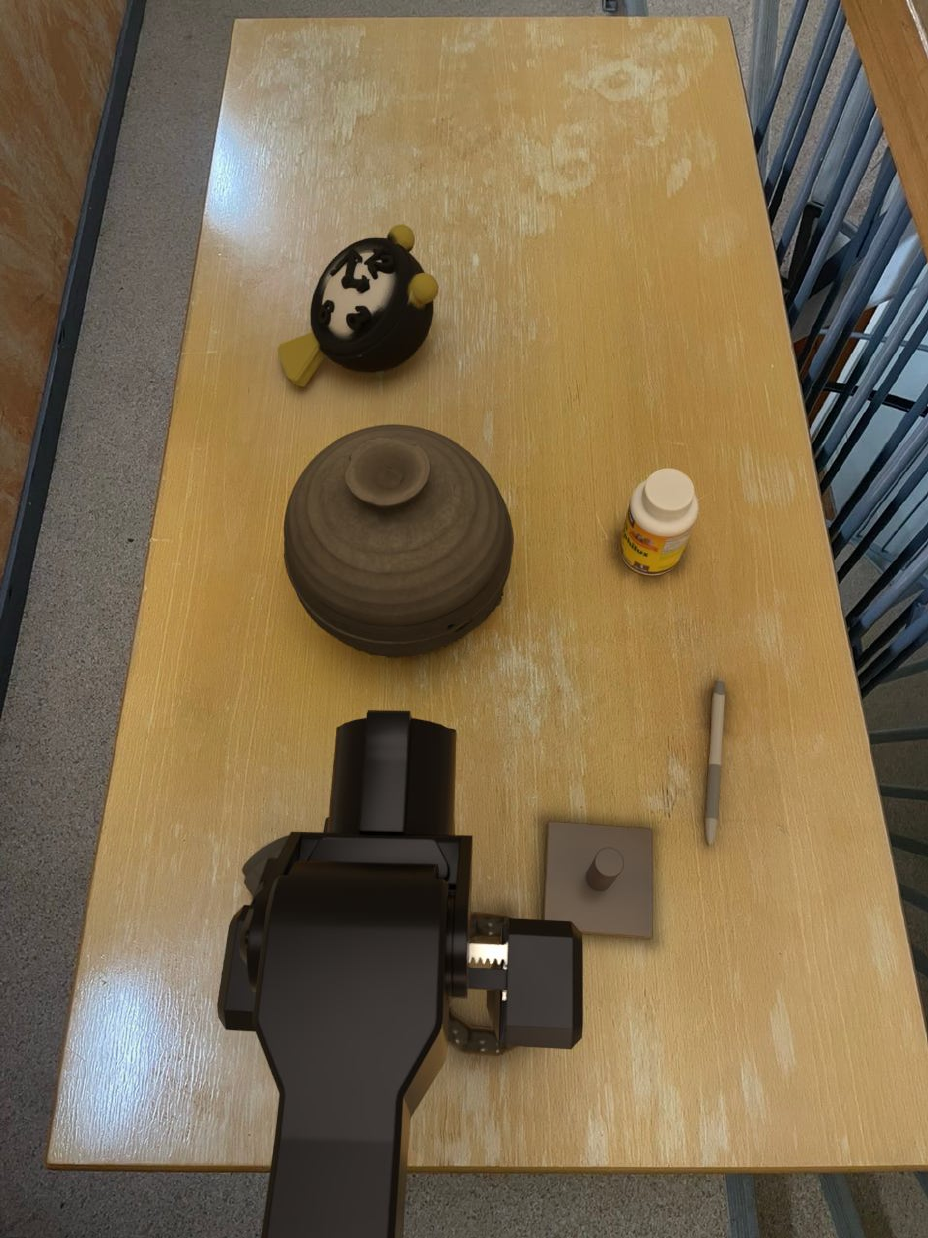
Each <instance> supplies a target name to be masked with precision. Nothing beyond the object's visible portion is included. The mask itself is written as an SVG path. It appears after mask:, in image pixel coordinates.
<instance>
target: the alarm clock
mask: <svg viewBox="0 0 928 1238" xmlns="http://www.w3.org/2000/svg"><path fill="white" fill-rule="evenodd" d="M415 243H416V236H415V234H414V231H413V230H412V229H411V228H410V227H409V226H407V225H406V224H404V223H403V224H396V225H394V226H393V227H391V228H390V230H389V231H388V233H387V235H386V237H374V236H373V237H366V238H363V239H360V240H357V241H355V242H352V243H351V244H349V245H348V246H346V247H345V248H343V249H341V251H339V252H338V253H337V254H336V256H334V258H332V259H331V261H330V262H329V263H328V264H327V265H326V267H325V269H324V270H323V272H322V273H321V275H320V277H319V279H318V282H317V284H316V287H315V289H314V292H313V295H312V298H311V304H310V311H309V314H310V315H309V318H310V331H311V332H309V333H307V334H303V335H301V336H298V337H295V338H293V339H290V340H287V341H284V342H282V343H280V344H279V345H278V346H277V354H278V357H279V360H280V362H281V365H282V367H283V371H284V373H285V375H286V377H287V379H288V380H289V381H290V382H291V383H292V384H293V385H295V386H298V387H300V388H304V387H306V386H307V384H308V383H309V382H310V380H311V378H312V377H313V376H314V374H315V372H316V371H317V369H318V367H319V366H320V364H321V363H322V361H323V360H324V358H325V357H327V358H328V359H329V360H330V361H332V362H334V364H337V365H339V366H340V367H342V368H344V369H347V370H350V371H353V372H358V373H369V374H375V373H382V372H385V371H389V370H392V369H394V368H397V367H399V366H401V365H402V364H404V363H405V362H407V361H408V360H409V359H411V358H412V357H413V356H414V355H415V354H416V353H417V352H418V351H419V349H420V348H421V347H422V346H423V344H424V342H425V340H426V339H427V337H428V335H429V332H430V330H431V326H432V324H433V318H434V300H435V299H436V298H437V296H438V294H439V287H440V286H439V283H438V281H437V279H436V278H435V277H434V276H433V275H432V274H430V273H427V272H425V270H424V268H423V267H422V265H421V263H420V262H419V261H418V259H416V258H415V256H414V255H412V253H411V251H412V250H413V249H414V246H415Z"/></svg>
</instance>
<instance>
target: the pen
mask: <svg viewBox="0 0 928 1238" xmlns="http://www.w3.org/2000/svg"><path fill="white" fill-rule="evenodd" d="M723 679H724V678H723V676H718V677H717V680H716V681H714V682H715V683H714V686H713V693H712V699H711V710H710V711H711V712H710V727H711V728H710V741H709V743H710V745H709V756H708V757H709V758H708V764H707V765H708V767H707V780H706V781H707V782H706V797H705V813H704V819H705V821H704V823H705V825H704V828H705V837H706V841H707V844H708V846H709V847H712V845H713V843H714V841H715V839H716V836H717V830H718V823H719V815H720V798H721V782H722V754H723V753H722V752H723V738H724V721H725V720H724V718H725V702H726V684H725V682H724V680H723Z"/></svg>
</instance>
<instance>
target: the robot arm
mask: <svg viewBox="0 0 928 1238" xmlns="http://www.w3.org/2000/svg"><path fill="white" fill-rule="evenodd" d="M457 742H458V732H457V729H455V728H452V727H451V728H450V727H447V726H445V725H443V724H441V723H437V722H435V721H434V722H433V721H430V720H426V719H421V718H415V717H412V713H411V710H394V709H393V710H391V709H389V710H387V709H385V710H384V709H368V710H367V711H366V717H362V718H357V719H353V720H349V721H346V722H345V723H343V724H341V725H340V726H336V729H335V739H334V750H333V751H334V753H333V762H332V763H333V764H332V773H331V786H330V798H329V807H328V816H327V817H326V818H325V820H324V825H323V830H322V831H314V832H313V831H290V832H289V837H288V839H287V841H286V843H285V845H284V847H283V849H282V851H281V853H280V855H279V857H278V858H268V859H267V862H266V865H265V867H264V870H263V873H262V875H261V878H260V881H259V883H258V886H257V889H256V892H255V894H254V897H252V900H251V902H250V904H243V905H242V906H241V907H240V908H239V909H238V910H237V911H236V912H235V913H234V914H233V916H232V918H231V920H230V922H229V925H228V930H227V936H226V944H225V949H224V956H223V963H222V968H221V969H222V970H221V976H220V982H219V983H220V984H219V989H218V996H217V1002H216V1008H217V1018H218V1020H219V1022H220V1023H221V1024H222V1026H223V1028H224V1030H226V1031H235V1032H236V1031H238V1032H255V1034H256V1036H257V1039H258V1041H259V1044H260V1046H261V1047H260V1048H261V1049H262V1053H263V1054H264V1057H265V1060H266V1062H267V1065H268V1068H269V1070H270V1073H271V1075H272V1078H273V1080H274V1083H275V1085H276V1088H277V1091H278V1102H277V1113H276V1122H275V1129H274V1130H275V1132H274V1141H273V1146H272V1147H273V1148H272V1155H271V1162H270V1168H269V1176H268V1183H267V1190H266V1197H265V1205H264V1211H263V1219H262V1226H261V1234H260V1238H404V1229H405V1228H404V1227H405V1212H406V1211H405V1209H406V1196H407V1195H406V1194H407V1179H408V1164H409V1163H408V1161H409V1146H410V1134H411V1120H412V1117H413V1115H414V1114H415V1112H416V1110H417V1109H418V1108H419V1105H420V1104H421V1102H422V1100H424V1097H425V1096H426V1094H427V1093H428V1091H429V1089H430V1088H431V1086H432V1084H433V1083H434V1081H435V1079H436V1078H437V1077H438V1075H439V1073H440V1071H441V1070H442V1068H443V1066H444V1065H445V1063H446V1060H447V1057H448V1046H449V1045H448V1044H449V1043H448V1023H449V1004H451V1002H452V1000H453V999H459V1000H461V999H466V1000H467V999H468V997H469V996H468V993H469V990H473V991H475V990H476V991H478V990H479V991H486V997H485V998H486V999H485V1002H486V1003H485V1005H486V1009H487V1012H488V1015H489V1018H490V1022H491V1024H492V1028H494V1031H495V1034H496V1037H497V1040H498V1043H499V1044H505V1046H519V1047H523V1048H538V1049H554V1050H555V1049H558V1050H572V1049H573V1048H574V1047H575V1046H576V1045H577V1044H578V1043H579V1042H580V1041H581V1040H582V1038H583V1029H584V982H583V981H584V949H583V948H584V943H583V942H584V941H583V935H582V934H583V933H581V932H580V931H579V929H578V928H577V927H576V926H575V925H574V924H573V922H572V921H558V920H543V919H539V918H538V919H535V918H534V919H533V918H516V917H512V918H509V919H508V925H502V930H501V936H500V940H499V943H498V944H494V943H493V944H492V943H474V942H472V943H471V941H470V921H471V913H472V894H473V893H472V889H473V851H474V850H473V847H474V846H473V843H474V841H473V840H474V839H473V837H474V836H473V835H472V834H471V835H469V834H467V835H466V834H465V835H464V834H463V835H462V834H456V824H455V823H456V822H455V811H456V810H455V809H456V808H455V807H456V781H457V780H456V777H457V745H458V744H457ZM472 960H474V963H475V965H479V962H480V960H481V962H482V965H486V963H487V961H489V965H490V966H491V967H490V968H489V967H470V965H471V963H472V962H473V961H472Z"/></svg>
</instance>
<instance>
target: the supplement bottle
mask: <svg viewBox="0 0 928 1238" xmlns="http://www.w3.org/2000/svg"><path fill="white" fill-rule="evenodd" d="M699 508H700V506H699V501H698V497H697V495H696V492H695V485H694V483H693V481H692V480H691V478H690V477H689V476H688V475H687V474H686V473H684V472H683V471H681V470H678V469H676V468H669V467H668V468H667V467H666V468H661V469H657V470H655V471H654V472H652V473H650V475H649V476H648V477H647V479H644V480H642V481H641V482H640V483H639V484H638V485H637V486H636V487H635V489H634V490H633V492H632V494H631V497H630V501H629V504H628V508H627V511H626V514H625V519H624V523H623V527H622V530H621V534H620V537H619V543H618V547H619V554H620V556H621V558H622V560H623V562H624V563H625V564H626V566H628V567H629V568H630V569H632V570H633V571H634V572H636V573H638V574H641V575H645V576H659V575H660V576H661V575H663V574H666V573H668V572H670V571H671V570H673V569H674V568H675V567H676V566H677V564H678V563H679V561H680V560H681V557H682V555H683V553H684V550H685V547H686V545H687V543H688V540H689V538H690V536H691V534H692V530H693V528H694V525H695V523H696V520H697V518H698V515H699Z"/></svg>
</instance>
